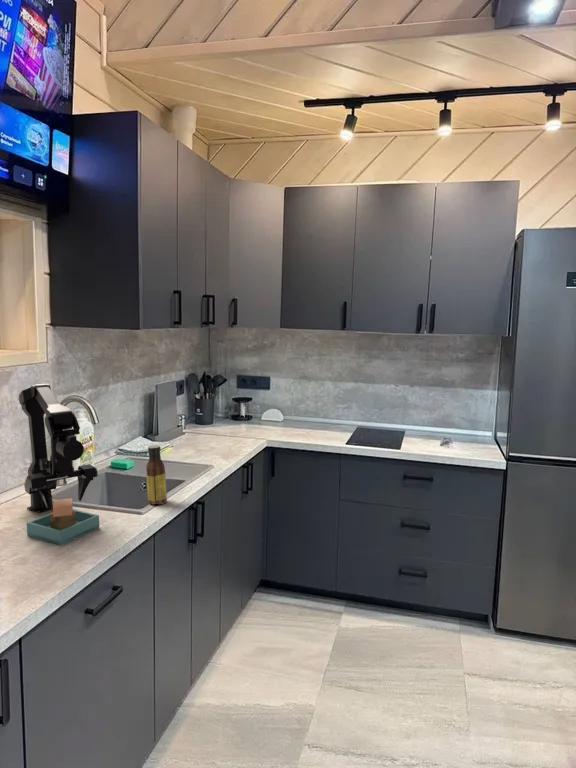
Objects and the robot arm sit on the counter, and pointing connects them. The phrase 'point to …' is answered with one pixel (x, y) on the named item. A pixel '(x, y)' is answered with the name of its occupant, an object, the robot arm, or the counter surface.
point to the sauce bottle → (156, 477)
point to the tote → (60, 537)
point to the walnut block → (62, 521)
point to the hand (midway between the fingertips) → (64, 503)
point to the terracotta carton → (62, 507)
